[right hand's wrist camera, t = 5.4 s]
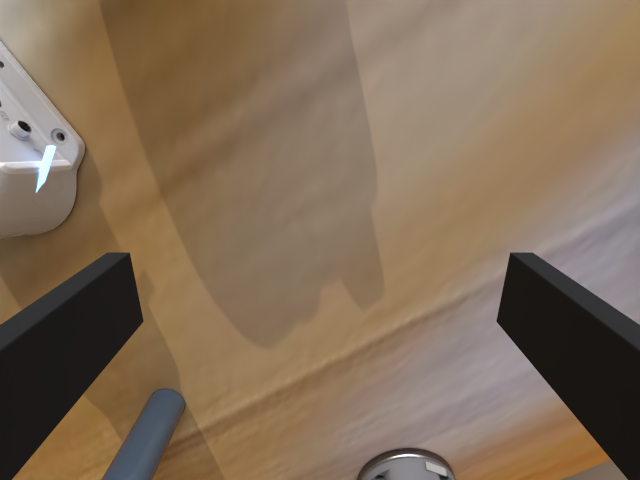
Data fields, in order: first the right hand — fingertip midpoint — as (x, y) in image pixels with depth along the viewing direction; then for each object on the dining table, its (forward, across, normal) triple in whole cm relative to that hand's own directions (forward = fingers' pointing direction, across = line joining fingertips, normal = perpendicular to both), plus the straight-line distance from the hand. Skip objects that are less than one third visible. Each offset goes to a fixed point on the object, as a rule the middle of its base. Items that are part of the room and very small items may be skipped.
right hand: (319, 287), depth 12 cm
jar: (+28, +22, +33) cm, 48 cm away
